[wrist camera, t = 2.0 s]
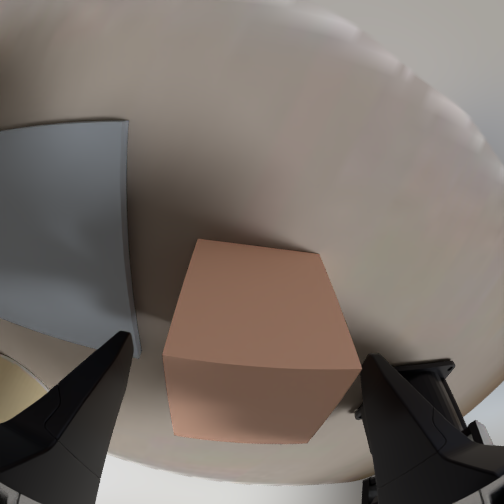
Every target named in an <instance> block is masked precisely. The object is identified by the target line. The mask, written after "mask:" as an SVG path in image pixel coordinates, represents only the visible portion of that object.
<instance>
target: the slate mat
mask: <svg viewBox="0 0 504 504" xmlns="http://www.w3.org/2000/svg"><path fill="white" fill-rule="evenodd" d="M128 123H129V121H85V122H69V123H56V124H46V125H37V126H29V127H22V128H15V129H8V130H2V131H0V318H2V319H4V320H7V321H9V322H12V323H14V324H17V325H20V326H23V327H25V328H28V329H31V330H34V331H37V332H40V333H43V334H46V335H49V336H52V337H55V338H58V339H62V340H65V341H68V342H72V343H75V344H79V345H83V346H86V347H90V348H94V349H98V348H100V347H101V346H102V345H103V344H104V343H105V342H107V341H108V340H109V339H110V338H111V337H113V336H114V335H115V334H116V333H117V332H119V331H127V332H130V333H131V335H132V340H133V345H134V353H133V358H138V359H139V357H140V354H141V351H142V350H141V345H140V339H139V333H138V327H137V320H136V313H135V306H134V298H133V289H132V280H131V270H130V259H129V245H128V228H127V196H126V172H127V140H128Z"/></svg>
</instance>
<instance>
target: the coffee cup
mask: <svg viewBox="0 0 504 504" xmlns="http://www.w3.org/2000/svg"><path fill="white" fill-rule="evenodd" d="M47 392H49V390H48V389H47V387H46V386H45V385H44V384H43V383H42V382H41V381H40V380H39V379H38V378H37V377H36V376H35V375H33V374H32V373H31V372H30V371H29V370H27V369H26V368H25V367H23V366H22V365H21V364H19V363H18V362H16V361H14V360H13V359H11V358H9V357H7V356H5V355H2V354H0V423H3V422H6V421H8V420H10V419H11V418H13V417H14V416H16V415H17V414H19V413H20V412H22V411H23V410H24V409H26V408H27V407H29V406H30V405H32V404H33V403H34V402H36V401H37V400H39V399H40V398H41V397H43V396H44V395H45V394H46V393H47Z"/></svg>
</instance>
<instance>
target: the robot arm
mask: <svg viewBox="0 0 504 504" xmlns="http://www.w3.org/2000/svg"><path fill="white" fill-rule="evenodd" d="M133 353H134V345H133V340H132V335H131V333H130V332H127V331H119V332H117V333H116V334H115V335H114V336H113V337H111V338H110V339H109V340H108V341H107V342H105V343H104V344H103V345H102V346H101V347H100V348H98V349H97V350H96V351H95V352H94V353H93V354H91V355H90V356H89V357H88V358H87V359H86V360H84V361H83V362H82V363H81V364H80V365H79V366H77V367H76V368H75V369H74V370H73V371H72V372H70V373H69V374H68V375H67V376H66V377H65V378H64V379H62V380H61V381H60V382H59V383H58V384H57V385H55V386H54V387H53V388H52V389H51V390H50V391H49V392H47V393H46V394H45V395H44V396H43V397H41V398H40V399H39V400H37V401H36V402H34V403H33V404H32V405H30V406H29V407H27V408H26V409H24V410H23V411H22V412H20V413H19V414H17V415H16V416H14V417H13V418H11V419H10V420H8V421H6V422H3V423H0V504H95V501H96V496H97V492H98V487H99V483H100V478H101V474H102V470H103V466H104V462H105V458H106V455H107V451H108V447H109V444H110V440H111V436H112V433H113V429H114V426H115V423H116V419H117V416H118V413H119V409H120V406H121V403H122V400H123V397H124V393H125V390H126V386H127V382H128V377H129V372H130V367H131V362H132V358H133ZM361 367H362V370H361V372H360V376H361V386H362V397H363V404H362V406H361V407H360V408H359V409H358V410H357V411H356V413H355V418H356V419H357V420H360V419H362V421H363V425H364V428H365V432H366V436H367V440H368V444H369V448H370V452H371V454H372V457H373V463H374V470H375V477H372V478H371V477H370V478H368V479H365V480H363V488H362V504H504V446H494V445H493V443H492V440H491V438H490V436H489V434H488V432H487V429H486V427H485V426H484V425H483V424H481V423H480V422H478V421H477V420H475V421H473V422H472V423H470V424H469V425H468V427H467V426H466V423H465V421H464V419H463V416H462V414H461V412H460V410H459V407H458V405H457V403H456V401H455V399H454V397H453V394H452V392H451V390H450V388H449V386H448V384H447V382H446V380H445V379H446V377H447V376H448V375H449V374H450V373H451V371H452V370H453V369H454V367H455V364H454V362H453V361H446V362H438V363H429V364H420V365H409V366H397V367H392V366H391V365H390V364H389V363H388V362H387V361H386V360H385V359H384V358H383V357H382V356H381V355H380V354H378V353H370V354H369V355H368V356H367V357H366V359H365V361H364V362H363V364H362V365H361Z"/></svg>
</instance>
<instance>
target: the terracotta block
mask: <svg viewBox="0 0 504 504" xmlns="http://www.w3.org/2000/svg"><path fill="white" fill-rule="evenodd" d="M162 357H163V365H164V373H165V381H166V388H167V395H168V401H169V408H170V414H171V419H172V425H173V430H174V435H175V436H181V437H188V438H195V439H203V440H212V441H223V442H235V443H254V444H302V443H308V442H309V440H310V439H311V438H312V437H313V436H314V434H315V433H316V432H317V431H318V429H319V428H320V427H321V426H322V424H323V423H324V422H325V421H326V419H327V418H328V417H329V415H330V414H331V413H332V411H333V410H334V409H335V407H336V406H337V405H338V403H339V402H340V401H341V399H342V398H343V396H344V395H345V394H346V392H347V391H348V389H349V388H350V386H351V385H352V384H353V382H354V381H355V379H356V378H357V376H358V375H359V373H360V372H361V370H362V367H361V364H360V361H359V358H358V355H357V352H356V349H355V346H354V343H353V341H352V338H351V335H350V332H349V329H348V327H347V324H346V321H345V319H344V316H343V313H342V311H341V308H340V305H339V303H338V300H337V297H336V295H335V292H334V290H333V287H332V285H331V282H330V279H329V277H328V274H327V272H326V269H325V267H324V265H323V262H322V260H321V257H320V255H319V254H315V253H307V252H299V251H292V250H284V249H276V248H268V247H260V246H252V245H244V244H236V243H228V242H220V241H212V240H204V239H198V240H197V243H196V246H195V249H194V252H193V255H192V258H191V261H190V264H189V267H188V270H187V273H186V276H185V279H184V282H183V286H182V289H181V292H180V295H179V299H178V302H177V305H176V309H175V312H174V315H173V319H172V322H171V326H170V329H169V332H168V336H167V340H166V343H165V347H164V350H163V354H162Z"/></svg>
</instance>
